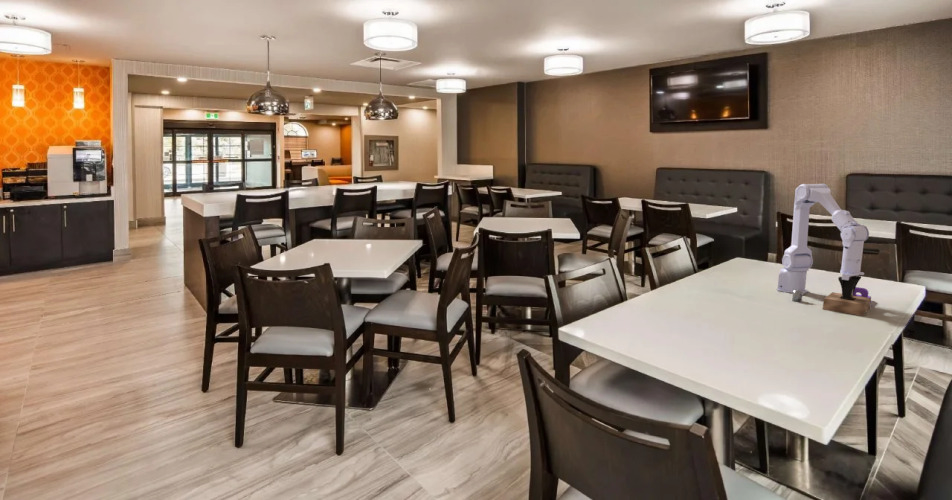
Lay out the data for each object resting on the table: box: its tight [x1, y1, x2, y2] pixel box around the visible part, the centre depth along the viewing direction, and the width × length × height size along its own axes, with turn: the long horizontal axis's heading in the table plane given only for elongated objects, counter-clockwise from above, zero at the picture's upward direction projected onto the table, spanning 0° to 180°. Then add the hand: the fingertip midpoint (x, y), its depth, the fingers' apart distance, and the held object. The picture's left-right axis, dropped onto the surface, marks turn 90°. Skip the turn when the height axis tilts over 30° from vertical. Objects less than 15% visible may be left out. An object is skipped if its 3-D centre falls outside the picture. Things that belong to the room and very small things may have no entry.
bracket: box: [853, 286, 872, 299], centre depth 207 cm, size 12×7×7 cm, turn 138°
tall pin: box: [842, 290, 853, 300], centre depth 198 cm, size 3×3×8 cm
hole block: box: [822, 292, 872, 317], centre depth 198 cm, size 12×12×4 cm
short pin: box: [791, 290, 804, 303], centre depth 210 cm, size 3×3×4 cm
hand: (847, 296), depth 198 cm, fingers closed on tall pin, 3 cm apart
